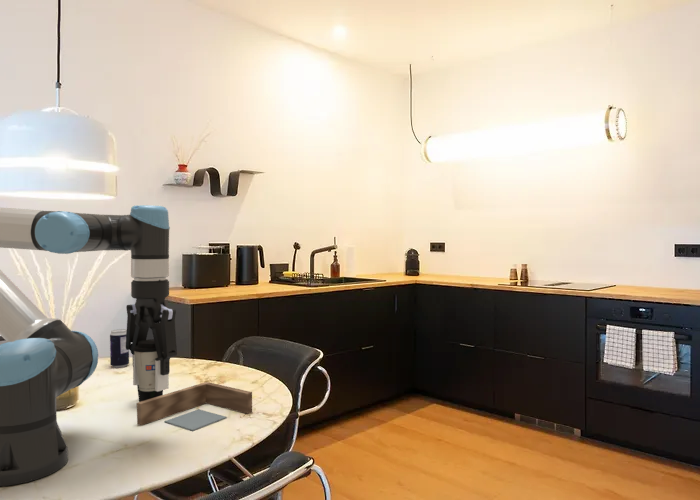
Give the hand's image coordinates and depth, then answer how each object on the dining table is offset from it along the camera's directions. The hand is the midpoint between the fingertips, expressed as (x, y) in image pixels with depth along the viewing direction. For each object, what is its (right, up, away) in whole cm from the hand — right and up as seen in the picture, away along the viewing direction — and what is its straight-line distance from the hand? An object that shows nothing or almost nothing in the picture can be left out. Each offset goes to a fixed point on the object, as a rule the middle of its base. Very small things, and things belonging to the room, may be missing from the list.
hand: (150, 386), depth 112 cm
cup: (-9, -11, +25) cm, 29 cm away
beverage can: (-34, -10, +64) cm, 73 cm away
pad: (+6, -11, +12) cm, 18 cm away
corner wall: (+6, -11, +14) cm, 18 cm away
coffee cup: (0, -1, 0) cm, 1 cm away
